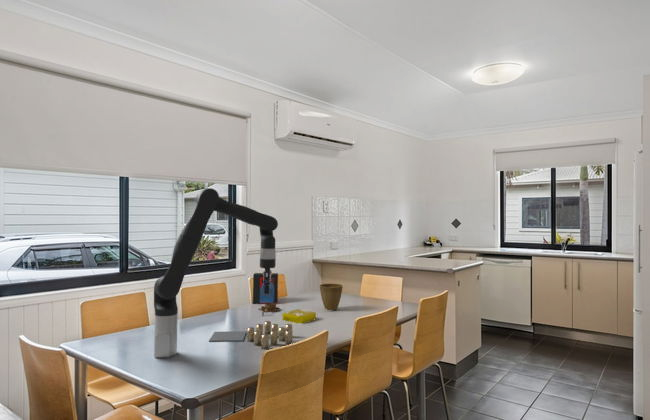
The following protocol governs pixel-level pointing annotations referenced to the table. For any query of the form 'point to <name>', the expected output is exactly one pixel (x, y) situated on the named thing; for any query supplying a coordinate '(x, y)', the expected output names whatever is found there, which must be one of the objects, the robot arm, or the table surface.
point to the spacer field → (273, 333)
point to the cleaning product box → (258, 283)
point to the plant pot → (331, 295)
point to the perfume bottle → (267, 297)
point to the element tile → (299, 316)
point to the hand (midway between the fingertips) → (267, 292)
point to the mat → (228, 336)
